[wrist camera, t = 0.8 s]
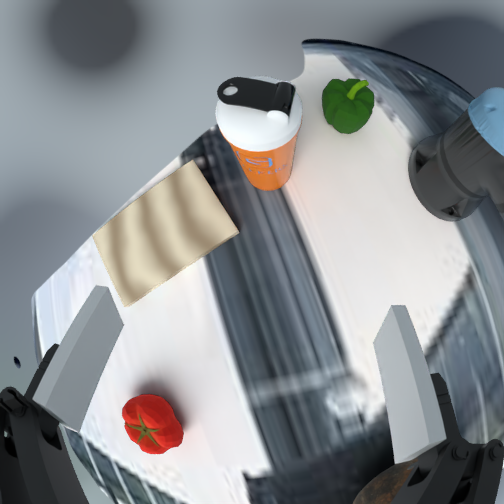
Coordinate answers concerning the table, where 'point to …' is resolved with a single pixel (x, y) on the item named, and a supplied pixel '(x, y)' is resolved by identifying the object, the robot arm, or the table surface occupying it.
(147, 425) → the tomato
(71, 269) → the table surface
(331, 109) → the bell pepper
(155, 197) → the oak board
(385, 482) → the jug
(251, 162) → the shaker bottle
